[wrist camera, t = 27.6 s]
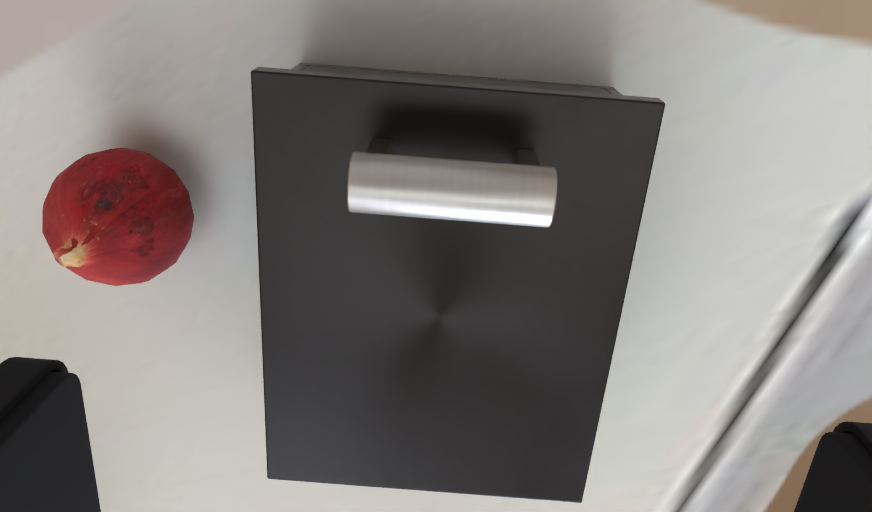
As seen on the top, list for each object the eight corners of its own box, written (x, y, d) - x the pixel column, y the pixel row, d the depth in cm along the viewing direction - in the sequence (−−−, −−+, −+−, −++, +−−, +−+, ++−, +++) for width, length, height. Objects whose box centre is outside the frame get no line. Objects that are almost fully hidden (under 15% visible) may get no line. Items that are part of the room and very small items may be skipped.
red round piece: (128, 106, 32) (27, 150, 24) (237, 178, 33) (173, 241, 25) (76, 203, 34) (-32, 271, 26) (181, 267, 35) (106, 350, 27)
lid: (256, 66, 24) (201, 100, 19) (659, 97, 24) (714, 140, 19) (271, 466, 31) (235, 569, 26) (578, 490, 31) (602, 597, 26)
